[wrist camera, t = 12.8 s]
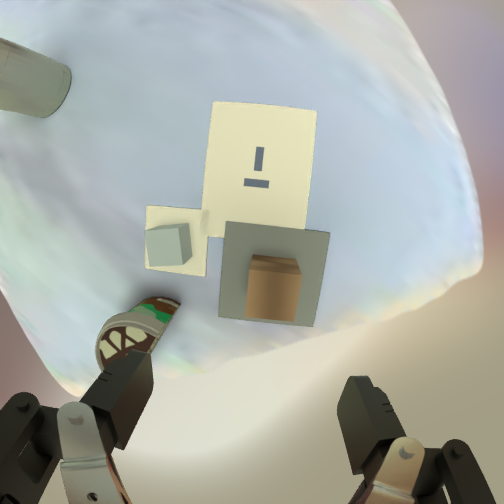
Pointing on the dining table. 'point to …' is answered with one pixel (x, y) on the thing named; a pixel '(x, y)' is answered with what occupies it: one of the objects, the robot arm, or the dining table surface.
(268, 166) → the plaque
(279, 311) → the block
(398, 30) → the dining table surface
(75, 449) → the robot arm
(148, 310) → the food container
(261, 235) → the mat
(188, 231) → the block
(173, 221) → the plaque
